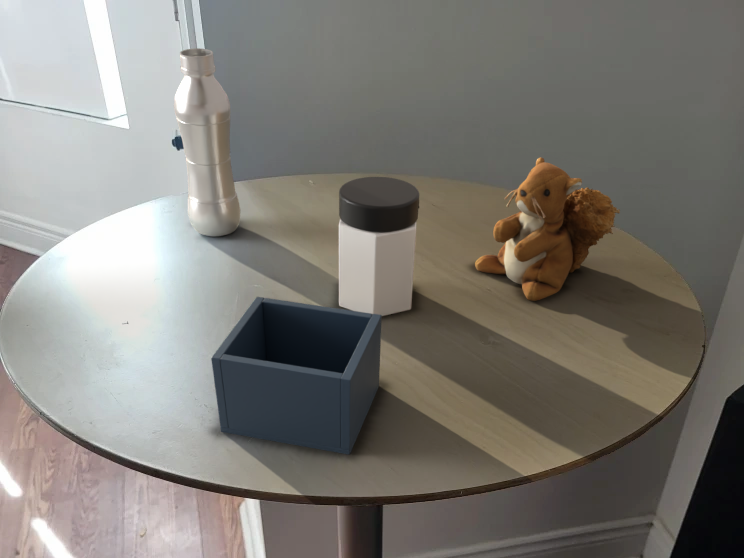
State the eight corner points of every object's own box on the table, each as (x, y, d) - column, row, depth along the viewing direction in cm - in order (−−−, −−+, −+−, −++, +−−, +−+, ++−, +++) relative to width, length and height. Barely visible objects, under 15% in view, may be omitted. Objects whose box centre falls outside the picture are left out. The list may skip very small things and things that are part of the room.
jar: (429, 296, 87) (438, 188, 79) (390, 327, 82) (396, 215, 73) (362, 274, 90) (364, 169, 82) (321, 302, 85) (319, 192, 77)
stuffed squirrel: (467, 270, 92) (481, 155, 83) (560, 247, 97) (582, 137, 88) (518, 308, 85) (539, 187, 76) (615, 281, 91) (645, 166, 82)
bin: (220, 434, 67) (210, 357, 62) (262, 369, 75) (256, 296, 70) (349, 457, 66) (350, 380, 60) (379, 388, 73) (381, 314, 68)
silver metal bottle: (192, 244, 95) (167, 61, 81) (188, 222, 99) (164, 45, 86) (245, 241, 96) (229, 59, 82) (239, 218, 101) (223, 44, 87)
